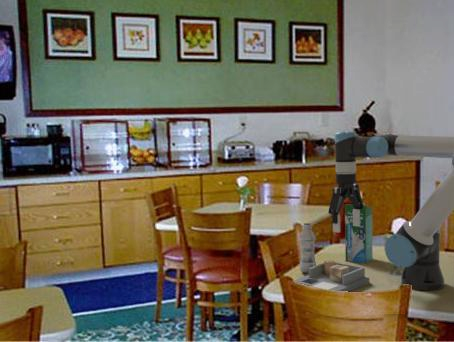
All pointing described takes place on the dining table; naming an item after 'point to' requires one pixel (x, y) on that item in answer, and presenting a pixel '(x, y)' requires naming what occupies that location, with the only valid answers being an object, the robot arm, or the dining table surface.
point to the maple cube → (338, 272)
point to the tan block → (328, 266)
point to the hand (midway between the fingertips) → (346, 229)
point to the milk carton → (358, 235)
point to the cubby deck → (323, 281)
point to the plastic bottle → (307, 248)
